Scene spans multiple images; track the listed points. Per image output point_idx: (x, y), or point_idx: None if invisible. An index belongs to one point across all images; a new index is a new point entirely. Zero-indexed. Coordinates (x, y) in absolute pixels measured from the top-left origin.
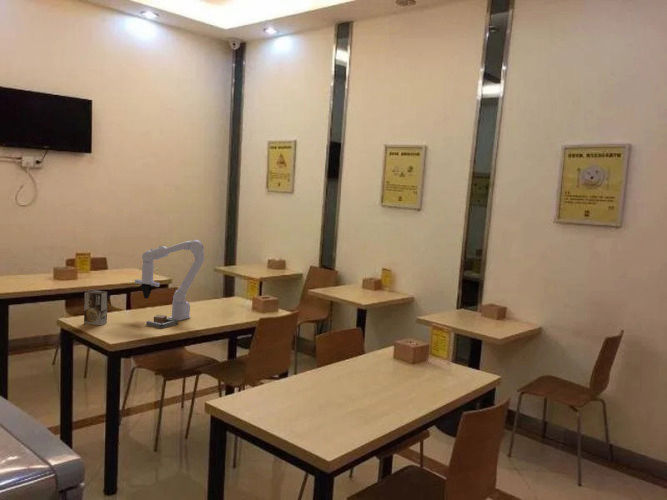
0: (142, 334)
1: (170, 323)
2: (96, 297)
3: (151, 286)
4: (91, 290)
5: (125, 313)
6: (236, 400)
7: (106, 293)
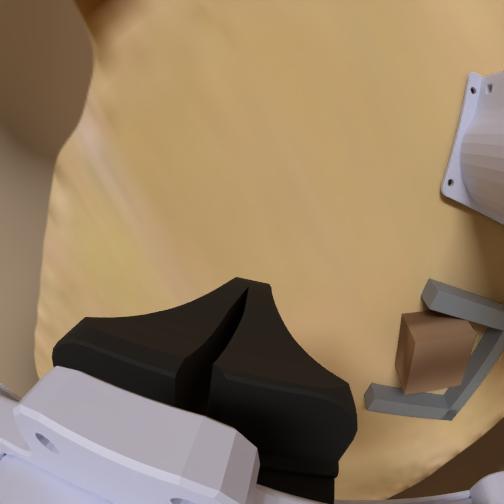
0: (386, 475)
1: (487, 367)
2: None
3: (323, 473)
4: None
5: (105, 197)
6: None
7: None
